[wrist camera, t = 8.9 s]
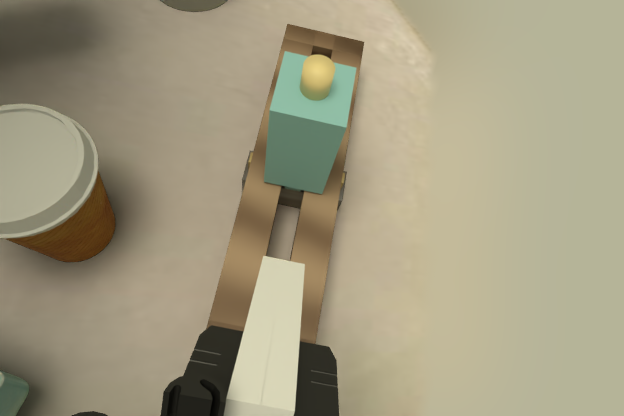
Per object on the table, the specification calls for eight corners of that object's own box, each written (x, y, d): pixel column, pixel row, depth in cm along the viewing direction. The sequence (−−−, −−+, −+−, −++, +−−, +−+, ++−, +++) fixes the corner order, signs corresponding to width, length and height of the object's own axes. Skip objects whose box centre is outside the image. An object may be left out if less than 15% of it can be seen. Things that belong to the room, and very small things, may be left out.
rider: (319, 201, 38) (353, 108, 26) (263, 189, 38) (271, 89, 26) (328, 152, 40) (363, 46, 28) (274, 141, 40) (287, 28, 28)
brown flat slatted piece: (308, 374, 36) (317, 370, 32) (200, 353, 36) (194, 346, 31) (357, 75, 50) (368, 43, 45) (279, 57, 49) (282, 22, 45)
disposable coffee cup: (68, 162, 41) (4, 75, 30) (156, 210, 40) (123, 139, 29) (-9, 247, 37) (-116, 182, 26) (87, 301, 36) (19, 259, 25)
